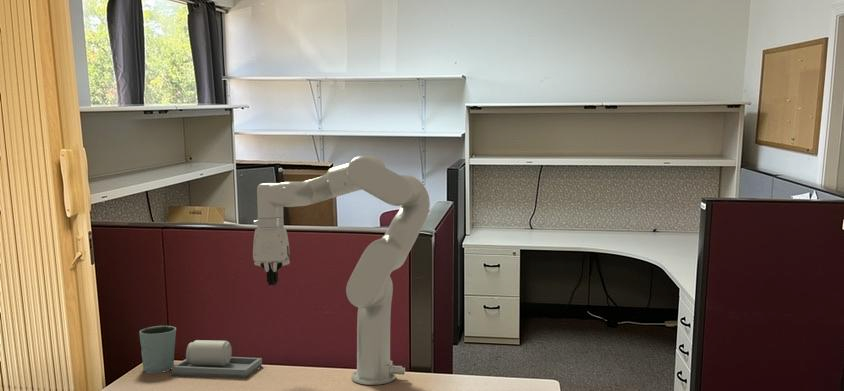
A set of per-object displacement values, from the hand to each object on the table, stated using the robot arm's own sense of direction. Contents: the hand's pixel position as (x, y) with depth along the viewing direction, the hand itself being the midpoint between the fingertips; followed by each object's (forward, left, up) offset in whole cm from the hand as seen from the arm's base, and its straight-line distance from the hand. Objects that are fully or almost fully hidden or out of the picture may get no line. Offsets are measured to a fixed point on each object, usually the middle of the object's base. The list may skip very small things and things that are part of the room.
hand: (272, 284), depth 187 cm
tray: (+15, +4, -26) cm, 30 cm away
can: (+13, +2, -21) cm, 25 cm away
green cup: (+34, +5, -26) cm, 43 cm away
